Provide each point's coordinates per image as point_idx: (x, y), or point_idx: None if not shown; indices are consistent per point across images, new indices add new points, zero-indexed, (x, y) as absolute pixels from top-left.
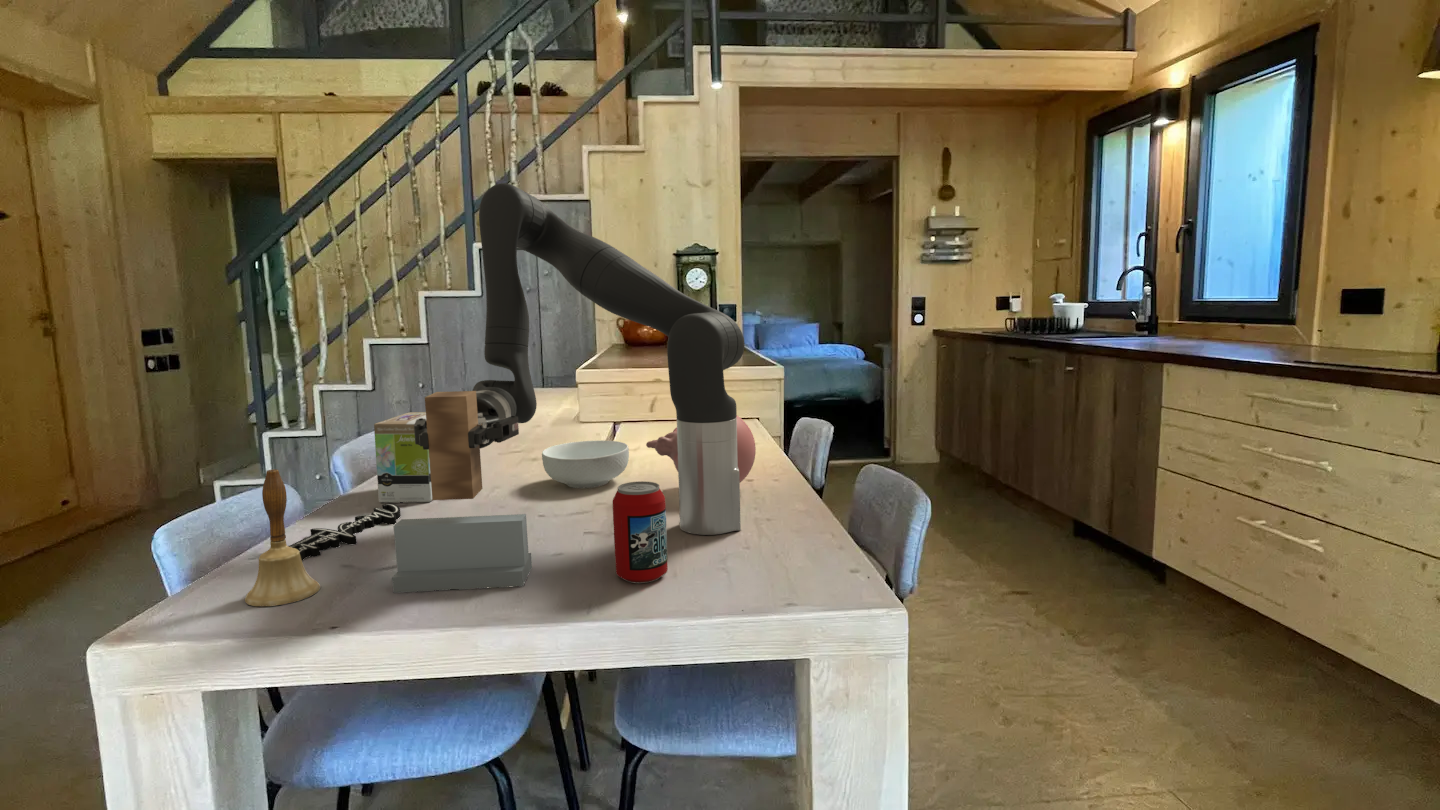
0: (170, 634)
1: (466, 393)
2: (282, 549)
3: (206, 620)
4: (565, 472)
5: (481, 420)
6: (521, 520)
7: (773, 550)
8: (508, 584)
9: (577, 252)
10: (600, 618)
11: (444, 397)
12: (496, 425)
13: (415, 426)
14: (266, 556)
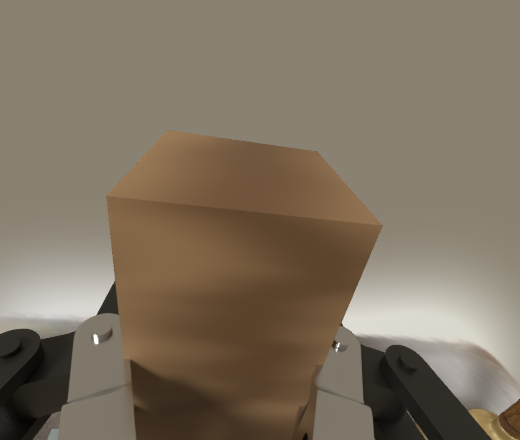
0: (452, 356)
1: (171, 158)
2: (487, 423)
3: (458, 384)
4: None
5: (95, 392)
6: (52, 429)
7: None
8: None
9: None
10: (22, 323)
11: (248, 144)
12: (29, 334)
13: (406, 349)
14: (490, 412)
